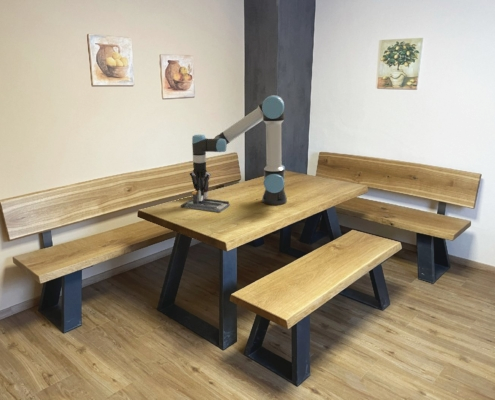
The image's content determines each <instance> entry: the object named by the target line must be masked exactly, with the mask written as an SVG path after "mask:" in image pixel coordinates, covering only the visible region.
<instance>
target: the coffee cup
mask: <svg viewBox="0 0 495 400" xmlns="http://www.w3.org/2000/svg"><path fill="white" fill-rule="evenodd" d="M205 177H206V174H205V176H204V182H205ZM195 178H196V175H195ZM196 182H197V181H196ZM194 191H197V189H194ZM208 196H209V181H208V185H207V189H205V190H204V195H203V198H205V199H208ZM198 197H199V195H198Z"/></svg>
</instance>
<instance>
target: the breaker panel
mask: <svg viewBox="0 0 495 400" xmlns="http://www.w3.org/2000/svg"><path fill="white" fill-rule="evenodd" d="M188 201H189V200H188ZM188 201H186V202H188ZM230 206H231V205H230V203H229V204H225V203H220V202H212V201H204V200H202V201H199V203H193V200H192V201H191V202H188V203H187V204H185V205H184V209H185V208H186V209H191V210H192V209H193V210H199V211H207V212H212V213H213V212H214V213H215V212H216V213H221V212H223V211H224V210H227V208H229V207H230Z"/></svg>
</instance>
